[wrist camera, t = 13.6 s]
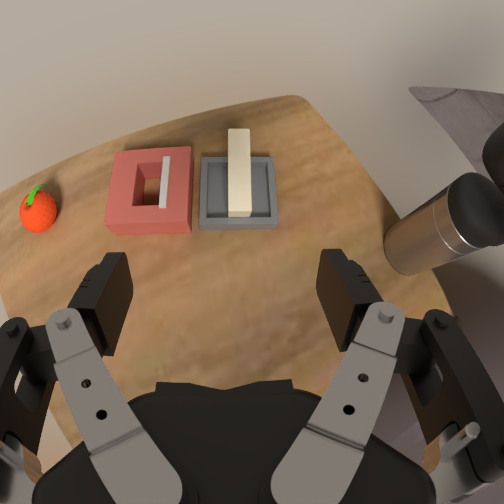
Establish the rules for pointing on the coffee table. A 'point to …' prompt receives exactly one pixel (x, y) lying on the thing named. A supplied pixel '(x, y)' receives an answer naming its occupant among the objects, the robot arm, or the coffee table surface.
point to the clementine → (38, 211)
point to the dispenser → (132, 189)
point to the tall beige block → (239, 173)
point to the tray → (217, 196)
